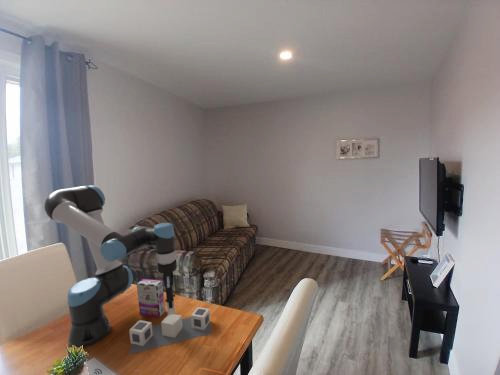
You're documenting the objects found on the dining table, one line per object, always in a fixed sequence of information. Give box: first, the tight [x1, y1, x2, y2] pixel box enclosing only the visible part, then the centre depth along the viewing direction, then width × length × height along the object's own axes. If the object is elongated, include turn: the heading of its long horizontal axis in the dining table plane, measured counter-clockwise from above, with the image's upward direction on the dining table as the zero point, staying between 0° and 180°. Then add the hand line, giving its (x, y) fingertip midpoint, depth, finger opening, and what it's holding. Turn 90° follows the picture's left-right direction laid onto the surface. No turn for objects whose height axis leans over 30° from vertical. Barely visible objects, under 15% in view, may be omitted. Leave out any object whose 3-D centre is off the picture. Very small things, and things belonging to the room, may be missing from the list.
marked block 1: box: [129, 319, 153, 346], centre depth 102 cm, size 6×6×6 cm
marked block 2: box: [190, 306, 211, 330], centre depth 109 cm, size 6×6×6 cm
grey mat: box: [129, 316, 213, 355], centre depth 106 cm, size 32×14×1 cm, turn 108°
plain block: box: [160, 313, 183, 338], centre depth 106 cm, size 6×6×6 cm
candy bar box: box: [136, 278, 166, 318], centre depth 118 cm, size 11×5×16 cm, turn 76°
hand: (171, 313), depth 105 cm, fingers closed
